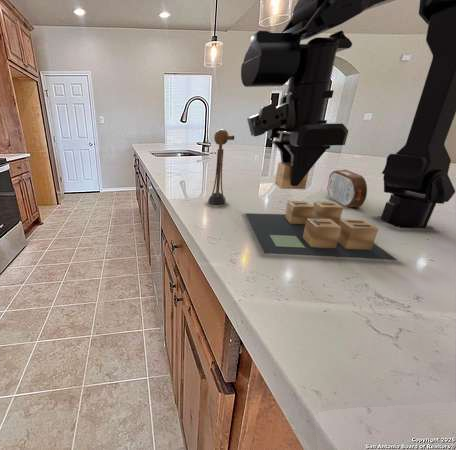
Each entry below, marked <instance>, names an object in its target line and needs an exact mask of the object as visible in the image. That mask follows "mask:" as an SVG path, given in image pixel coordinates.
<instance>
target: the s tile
mask: <svg viewBox="0 0 456 450" xmlns="http://www.w3.org/2000/svg"><path fill="white" fill-rule="evenodd" d="M309 172H310V171H309ZM309 172H308V173H307V174H306V176H305V177H304V178H303V180H302V181H301V182H300V183H299V185H298V186H292V185H291V163H281V162H278V163H277V169H276V175H275V181H274V182H275V183H274V184H275V185H276V186H277V187H278V188H279V189H281V190H283V189H284V190H305V189H306V187H307V182H308V176H309Z"/></svg>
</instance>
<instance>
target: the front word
mask: <svg viewBox="0 0 456 450" xmlns="http://www.w3.org/2000/svg"><path fill="white" fill-rule="evenodd" d="M378 232H379V228H378V227H376V226H375V225H373V224H371V223H370V222H368V221H367V220H365V219H348V218H347V219H344V218H343V219H342V218H340V220H339V223H338V224H336V223H335V222H334V221H332V220H331V219H311V218H307V220H306V225H305V229H304V234H303V239H304V240H305V241H306V242H307V243H308V244H309V245H310V247H318V248H336V246H337V242H338V243H340V244H341V245H342V246H343V247H344V248H345V249H362V250H371V249H372V246H373V243H374V244H375V241H376V237H377V235H378Z"/></svg>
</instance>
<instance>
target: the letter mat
mask: <svg viewBox="0 0 456 450" xmlns="http://www.w3.org/2000/svg"><path fill="white" fill-rule="evenodd" d="M245 216H246V218H247V220H248V222H249V224H250V226H251V228H252V231H253V232H254V234H255V237H256V239H257V241H258V243H259V245H260V247H261V249H262V251H263V254H272V255H291V256H311V257H329V258H330V257H331V258H349V259H350V258H351V259H370V260H371V259H372V260H374V259H375V260H389V261H390V260H391V261H392V260H393V261H398V259H397V258H396V257H394V256H393V255H391V254H390V253H388V252H387V251H386V250H384V249H383V248H382V247H380V246H379V245H377V244H376V243H375V242H374V243H373V246H372V249H371V250H362V249H345V248H344V247H343V246H342V245H341V244H340V243H338V242H337V246H336V248H318V247H310V245H309V244H308V243H307V242H306V241H305V240H304V239H303V234H304V229H305V225H306V224H290V222H289V221H288V220H287V219H286V218H285V214H284V213H283V214H282V213H250V212H248V213H247V212H246V213H245Z"/></svg>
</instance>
